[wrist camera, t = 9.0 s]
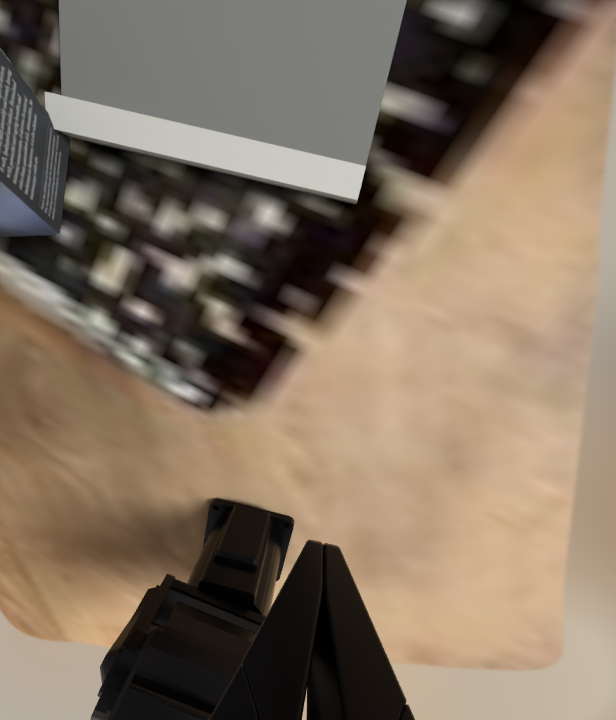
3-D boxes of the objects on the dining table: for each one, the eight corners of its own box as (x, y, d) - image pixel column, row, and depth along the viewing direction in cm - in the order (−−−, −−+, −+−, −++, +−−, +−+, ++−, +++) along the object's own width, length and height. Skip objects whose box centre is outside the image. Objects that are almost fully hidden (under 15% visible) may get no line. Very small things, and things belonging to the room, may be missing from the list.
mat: (356, 204, 17) (357, 199, 16) (69, 137, 18) (46, 127, 16) (424, -75, 14) (434, -112, 12) (63, -154, 14) (32, -200, 12)
